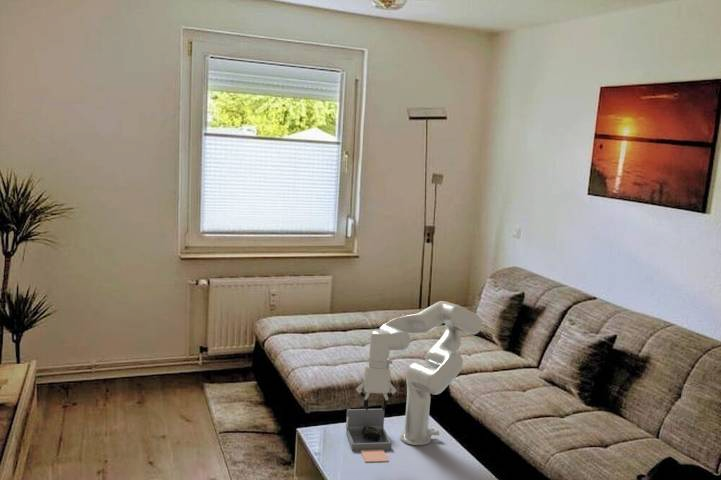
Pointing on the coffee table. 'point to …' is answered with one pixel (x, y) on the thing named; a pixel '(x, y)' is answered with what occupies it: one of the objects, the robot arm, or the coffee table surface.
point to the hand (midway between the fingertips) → (374, 408)
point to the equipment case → (361, 419)
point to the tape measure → (371, 433)
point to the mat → (374, 455)
